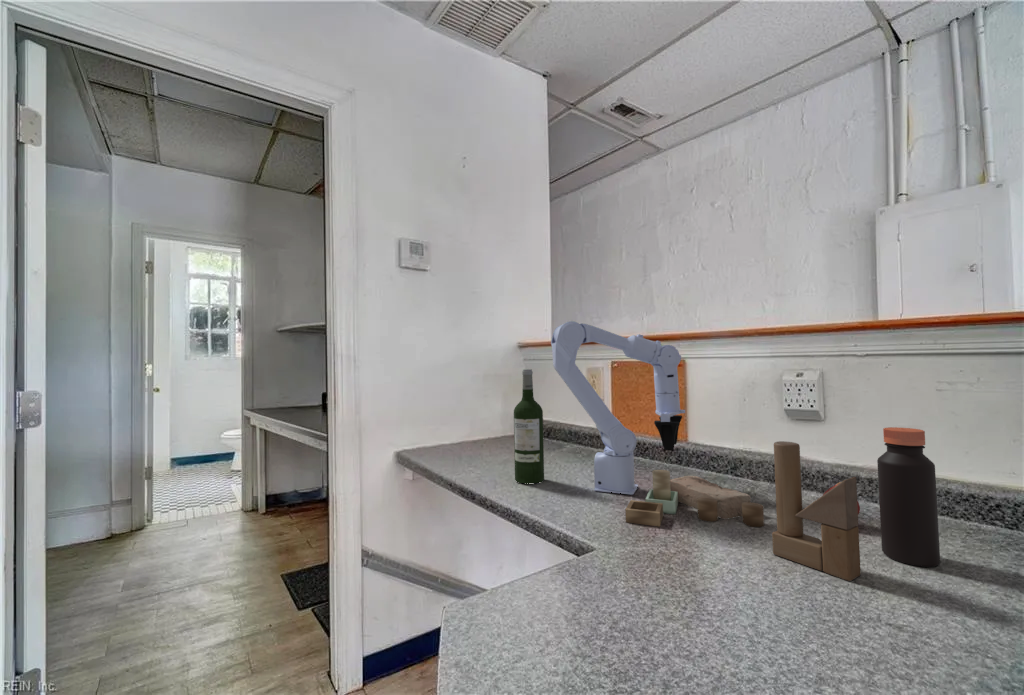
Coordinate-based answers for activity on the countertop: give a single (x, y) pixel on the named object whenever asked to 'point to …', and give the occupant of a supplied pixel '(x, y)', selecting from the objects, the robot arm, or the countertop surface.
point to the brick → (709, 495)
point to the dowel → (661, 485)
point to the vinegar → (908, 499)
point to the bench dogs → (750, 512)
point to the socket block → (644, 513)
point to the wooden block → (815, 519)
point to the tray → (665, 502)
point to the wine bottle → (528, 435)
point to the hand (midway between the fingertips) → (670, 447)
